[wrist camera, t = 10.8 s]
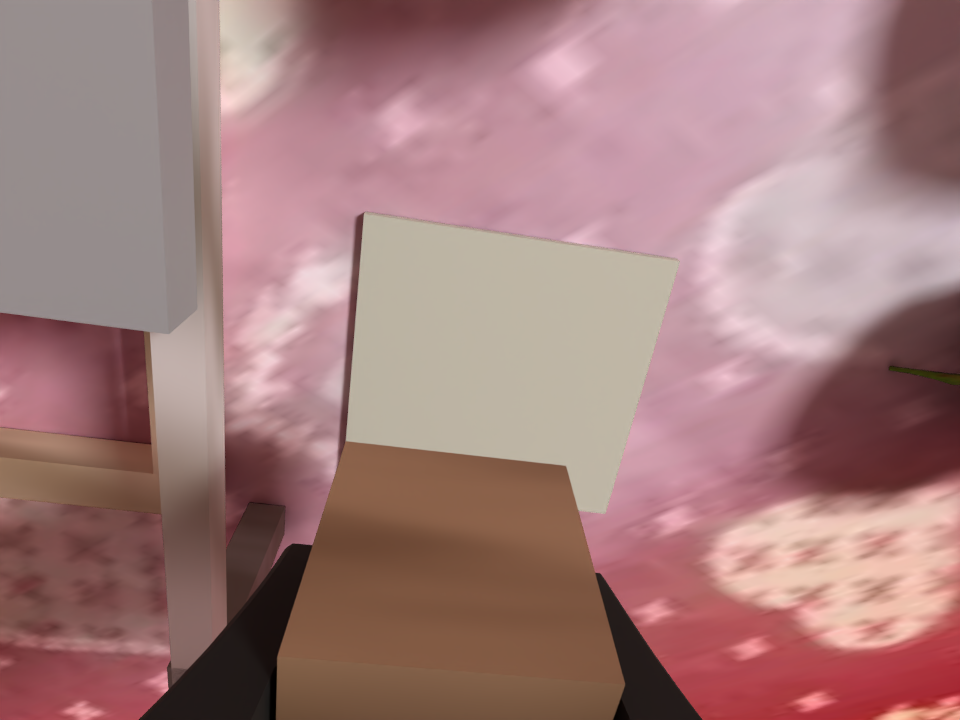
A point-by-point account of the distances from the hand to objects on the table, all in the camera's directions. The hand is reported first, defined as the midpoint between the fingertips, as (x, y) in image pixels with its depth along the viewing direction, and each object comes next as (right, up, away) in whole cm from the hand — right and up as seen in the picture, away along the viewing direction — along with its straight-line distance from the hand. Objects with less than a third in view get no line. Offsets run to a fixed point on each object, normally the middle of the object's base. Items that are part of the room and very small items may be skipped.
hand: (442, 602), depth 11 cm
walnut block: (0, +1, +1) cm, 2 cm away
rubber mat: (+1, +4, +9) cm, 10 cm away
